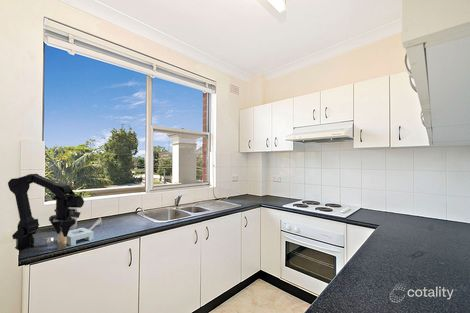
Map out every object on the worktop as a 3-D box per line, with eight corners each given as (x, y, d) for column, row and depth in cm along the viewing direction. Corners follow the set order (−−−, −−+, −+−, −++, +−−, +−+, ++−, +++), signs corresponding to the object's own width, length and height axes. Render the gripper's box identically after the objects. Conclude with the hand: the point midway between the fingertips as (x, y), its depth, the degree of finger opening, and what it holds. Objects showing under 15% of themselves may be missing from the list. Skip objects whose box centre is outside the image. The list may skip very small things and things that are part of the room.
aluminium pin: (46, 246, 123) (46, 239, 123) (43, 245, 125) (43, 238, 125) (55, 244, 126) (55, 237, 126) (52, 243, 128) (52, 236, 128)
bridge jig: (70, 245, 124) (71, 237, 124) (60, 240, 132) (60, 232, 132) (93, 239, 135) (93, 231, 135) (82, 235, 142) (82, 227, 142)
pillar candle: (57, 229, 153) (57, 208, 153) (72, 225, 161) (72, 205, 161) (64, 231, 148) (65, 209, 148) (80, 227, 157) (80, 207, 157)
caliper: (99, 225, 164) (100, 216, 164) (101, 225, 164) (101, 216, 164) (84, 234, 144) (85, 225, 144) (86, 234, 144) (86, 225, 144)
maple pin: (59, 250, 119) (59, 235, 119) (55, 248, 121) (56, 234, 121) (67, 247, 122) (67, 233, 122) (64, 245, 124) (64, 232, 124)
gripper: (86, 206, 124) (85, 234, 124) (71, 203, 134) (71, 228, 133) (63, 210, 114) (62, 240, 114) (49, 206, 124) (48, 233, 124)
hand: (61, 235), depth 122 cm, fingers open, 9 cm apart
